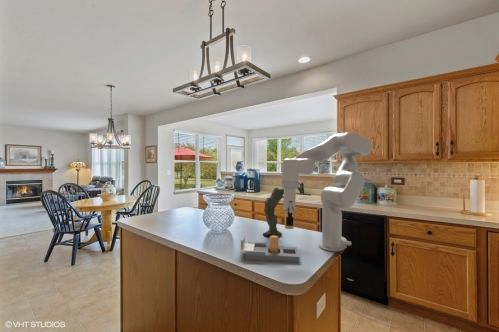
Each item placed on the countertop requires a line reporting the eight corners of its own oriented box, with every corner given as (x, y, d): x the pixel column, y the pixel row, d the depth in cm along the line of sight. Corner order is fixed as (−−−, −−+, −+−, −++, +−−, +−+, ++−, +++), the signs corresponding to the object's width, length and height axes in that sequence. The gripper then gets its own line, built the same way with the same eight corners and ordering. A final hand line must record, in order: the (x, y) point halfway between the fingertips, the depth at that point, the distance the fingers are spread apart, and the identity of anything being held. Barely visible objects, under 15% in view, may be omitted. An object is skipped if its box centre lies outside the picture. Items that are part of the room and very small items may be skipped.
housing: (296, 252, 115) (296, 244, 115) (299, 262, 103) (299, 253, 103) (247, 249, 117) (248, 242, 117) (245, 259, 105) (245, 251, 105)
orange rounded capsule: (278, 254, 112) (278, 235, 112) (278, 257, 108) (278, 238, 108) (269, 254, 112) (269, 235, 112) (269, 257, 108) (269, 238, 108)
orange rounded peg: (284, 226, 111) (285, 207, 111) (293, 226, 111) (293, 207, 111) (285, 228, 107) (285, 209, 107) (293, 229, 107) (294, 209, 107)
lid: (254, 245, 116) (254, 235, 116) (253, 253, 106) (253, 242, 106) (242, 245, 116) (242, 235, 116) (240, 252, 107) (240, 241, 107)
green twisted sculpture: (259, 237, 135) (272, 186, 136) (256, 233, 142) (268, 185, 143) (281, 240, 138) (293, 191, 140) (276, 237, 145) (288, 190, 147)
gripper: (281, 183, 118) (280, 219, 118) (282, 186, 101) (282, 228, 101) (296, 183, 117) (295, 220, 117) (300, 187, 100) (299, 229, 100)
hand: (289, 223), depth 109 cm, fingers closed on orange rounded peg, 4 cm apart
